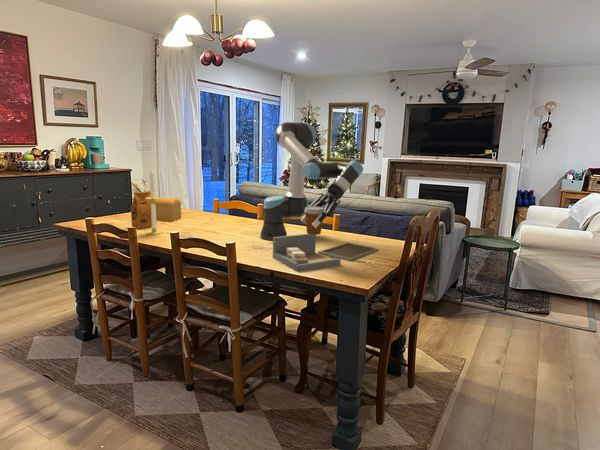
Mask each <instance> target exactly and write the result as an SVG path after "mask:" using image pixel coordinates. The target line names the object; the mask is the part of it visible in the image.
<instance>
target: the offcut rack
mask: <svg viewBox="0 0 600 450" xmlns="http://www.w3.org/2000/svg"><path fill="white" fill-rule="evenodd" d="M316 242H317V235H311V234H308V233H304V234H303V233H302V234H294V235H287V236H282V237H273V240H272V258H273V259H275V260H276V261H277V262H279V263H281V264H283V265H284V266H287V267H288V268H290V269H292V270H294V271H295V272H301V271H307V270H308V271H309V270H314V269H321V268H328V267H334V266H341V260H342V259H339V258H336V259H326V260H320V261H313V262H312V261H311V262H308V263H305V264H298V263H297V262H295V261H293V260H291V259H289V258H287V257H285V256H284V255H285V252H286V247H297V248H299V249H300V250H301V251H303V252H304V253H305V255H311V254H316Z"/></svg>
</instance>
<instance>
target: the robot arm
mask: <svg viewBox="0 0 600 450" xmlns="http://www.w3.org/2000/svg"><path fill="white" fill-rule="evenodd" d="M274 134H275V135H274V137H275V140H276V142H277V144H278V145H279V146H280V147H281V148H283V149H285V150H286V151H287V152H288V153H289V154H290V155H291V157H290V159H291V160H290V171H289V183H288V191H287V192H286V193H285V197H284V196H283V195H273V196H268V197H265V199H264V201H263V207H262V208H263V225H262V227H261V230H260V232H259V233H260V235H259V236H260V237H259V238H260V239H262V240H265V241H266V240H267V241H273V237H282V236H288V233H287V230H286V227H285V220H286V219H296V218H297V219H299V218H301V219H300V221H301V222H302V223H303V225H306V216H305V211H304V210H305V207H308V206H318V207H323V206H324V207H323V208H324V211H323V212H321V213H322V214H323V215H322V214H320V215H319V216H318V217H317V218H316V220H315V221H314V222H313V223H312V225H313V226H314V227H315V228H317V227H318V225H319V224H320V223H321V222H322V223H323V221H324V220H325V218H327V217H328V218H330V217H331V216H332V215H333V213H334V211H335V210H336V208H337V207H338V205H339V204H340V203H341V199H342V197H343V196H344V195H345V193H346V192H347V191H348V190H349V189H350V187H351V186H353V184H354V183H355V182H356V180H357V179H359V177H360V176H361V174H362V173H363V172H364V167H363V165H362V164H361V163H360V162H359V161H357V160H355V159H352V160H350V162H348V164H347V163H341V162H338V161H331V162H320V161H319V160H318V159H317V158H316V157H315V156H314V155H313V154H312V153H311V152H310V151H309V150H311V146H312V145H314V144H315V142H316V137H317V134H316V130H315V128H314V126H313V125H312V124H310V123H306V122H290V121H285V122H282V123H280V124H279V125H278V127H277V128H276V130H275V133H274ZM305 178H306V179H308V180H319V179H320V180H322V179H324V180H325V179H334V180H333V182H332V183H331V184H330V185H329V186H328V187H327V192H326V193H320V195H319V196H318V197H317V198H316V199H314V201H313V202H312V203H310V204H309V200H308V198H307V197H306V194H305V193H304V190H305Z"/></svg>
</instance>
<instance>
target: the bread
mask: <svg viewBox="0 0 600 450" xmlns="http://www.w3.org/2000/svg"><path fill="white" fill-rule="evenodd" d="M159 197H160V199H155V204H156V220H161V221H160V222H175V220H176V221H178V220H181V219H182V208H181V207H182V202H181V200H180V199H179V198H176V197H167V196H165V197H164V196H159Z"/></svg>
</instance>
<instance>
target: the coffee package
mask: <svg viewBox="0 0 600 450" xmlns="http://www.w3.org/2000/svg"><path fill="white" fill-rule="evenodd" d="M146 197H151V190H147V191H143V192H141V191H134V192H133V199H132V203H131V207H130V208H131V209H130V212H131V214H130V216H131V217H130V219H131V227H132V228H134V227H136V228H137V230H141V229H148V227H150V228H152V218H151V200H149V199H145V198H146ZM136 228H135V229H136Z"/></svg>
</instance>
